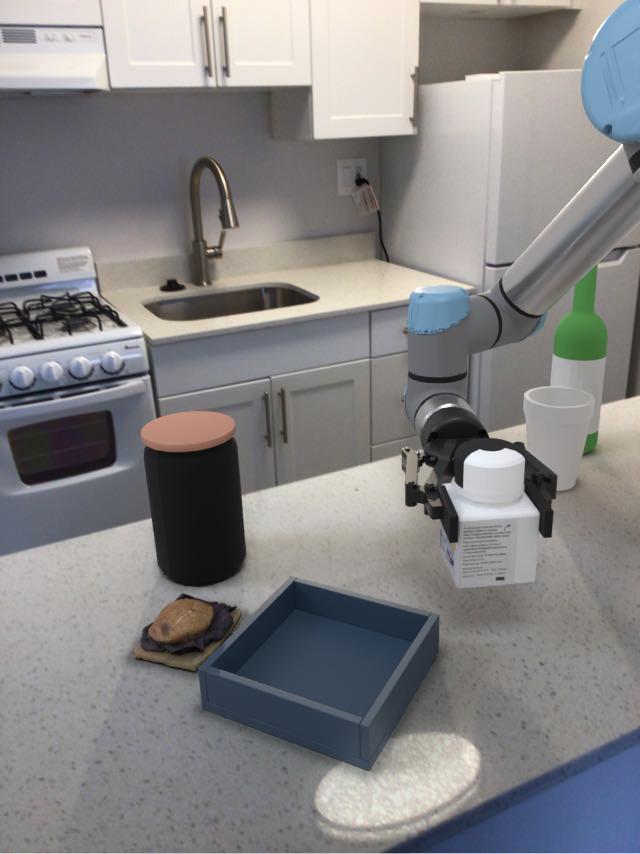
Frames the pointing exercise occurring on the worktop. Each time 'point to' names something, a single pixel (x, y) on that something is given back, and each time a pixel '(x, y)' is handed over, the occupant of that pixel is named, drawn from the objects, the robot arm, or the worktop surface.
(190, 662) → the bread roll
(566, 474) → the foam cup
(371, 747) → the tote
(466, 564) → the container
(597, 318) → the wine bottle
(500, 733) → the worktop surface
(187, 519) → the coffee jar
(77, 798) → the worktop surface
